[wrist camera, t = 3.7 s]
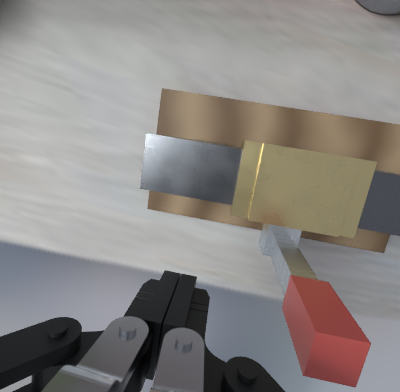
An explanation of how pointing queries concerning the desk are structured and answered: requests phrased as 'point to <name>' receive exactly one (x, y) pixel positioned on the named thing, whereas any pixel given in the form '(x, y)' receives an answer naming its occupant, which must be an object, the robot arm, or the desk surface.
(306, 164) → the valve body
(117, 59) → the desk surface
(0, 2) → the desk surface
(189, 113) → the base board
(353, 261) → the desk surface
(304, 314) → the valve lever
